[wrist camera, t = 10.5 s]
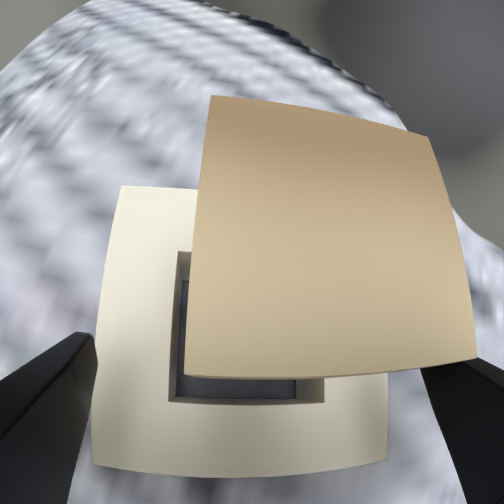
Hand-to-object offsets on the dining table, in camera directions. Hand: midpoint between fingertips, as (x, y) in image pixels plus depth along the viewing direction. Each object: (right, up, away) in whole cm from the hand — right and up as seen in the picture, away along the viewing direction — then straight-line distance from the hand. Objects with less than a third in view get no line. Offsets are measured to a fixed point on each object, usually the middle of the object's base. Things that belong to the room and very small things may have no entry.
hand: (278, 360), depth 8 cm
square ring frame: (-1, -2, +8) cm, 9 cm away
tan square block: (-1, -2, +9) cm, 9 cm away
